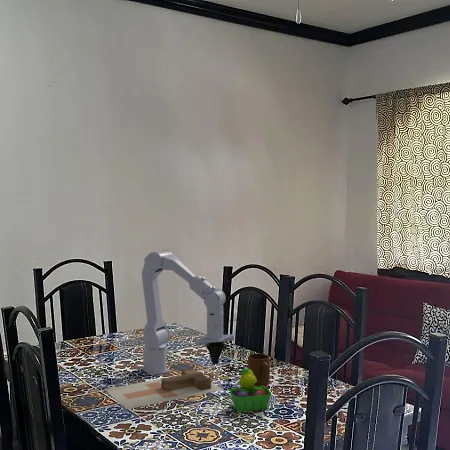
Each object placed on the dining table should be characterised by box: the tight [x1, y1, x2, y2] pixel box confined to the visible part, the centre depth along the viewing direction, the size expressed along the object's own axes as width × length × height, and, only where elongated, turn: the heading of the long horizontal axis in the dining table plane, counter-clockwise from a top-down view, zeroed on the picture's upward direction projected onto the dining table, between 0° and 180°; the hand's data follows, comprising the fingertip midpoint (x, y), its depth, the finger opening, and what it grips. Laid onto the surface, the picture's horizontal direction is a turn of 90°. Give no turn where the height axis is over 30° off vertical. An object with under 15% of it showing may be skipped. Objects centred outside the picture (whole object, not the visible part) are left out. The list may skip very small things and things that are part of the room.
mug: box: [247, 353, 271, 387], centre depth 192 cm, size 12×8×9 cm, turn 16°
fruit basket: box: [229, 367, 272, 413], centre depth 173 cm, size 11×9×11 cm
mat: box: [103, 378, 224, 410], centre depth 188 cm, size 20×34×1 cm, turn 121°
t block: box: [160, 367, 212, 391], centre depth 191 cm, size 14×14×3 cm
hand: (215, 363), depth 198 cm, fingers closed
